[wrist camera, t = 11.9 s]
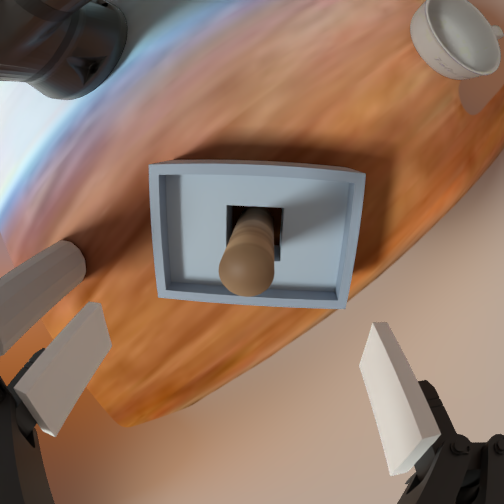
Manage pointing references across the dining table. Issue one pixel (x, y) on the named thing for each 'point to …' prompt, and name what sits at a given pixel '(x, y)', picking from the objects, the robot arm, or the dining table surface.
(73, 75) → the robot arm
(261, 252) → the peg
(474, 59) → the teacup
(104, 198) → the dining table surface
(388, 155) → the dining table surface
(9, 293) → the water bottle
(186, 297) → the box
